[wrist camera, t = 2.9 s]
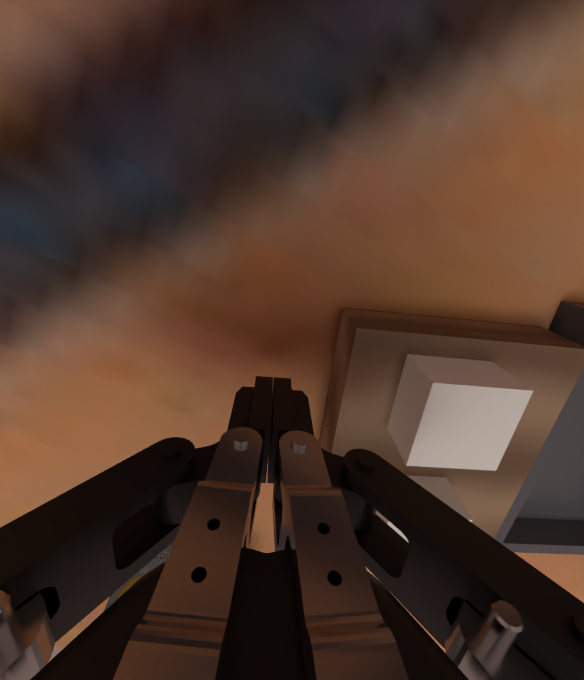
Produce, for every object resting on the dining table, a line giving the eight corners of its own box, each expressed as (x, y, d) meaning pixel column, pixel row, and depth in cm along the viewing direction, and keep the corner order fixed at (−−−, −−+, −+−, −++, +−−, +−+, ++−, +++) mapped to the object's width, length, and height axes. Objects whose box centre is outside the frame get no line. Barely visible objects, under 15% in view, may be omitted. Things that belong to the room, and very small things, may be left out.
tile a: (407, 354, 14) (433, 382, 12) (492, 361, 14) (533, 390, 12) (386, 427, 15) (406, 465, 13) (464, 432, 16) (496, 470, 13)
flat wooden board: (342, 307, 16) (356, 328, 13) (541, 327, 17) (592, 349, 14) (309, 493, 21) (314, 536, 18) (464, 500, 22) (492, 542, 19)
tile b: (374, 473, 16) (389, 516, 14) (446, 477, 17) (472, 519, 14) (359, 526, 18) (371, 572, 16) (425, 528, 18) (447, 574, 16)
